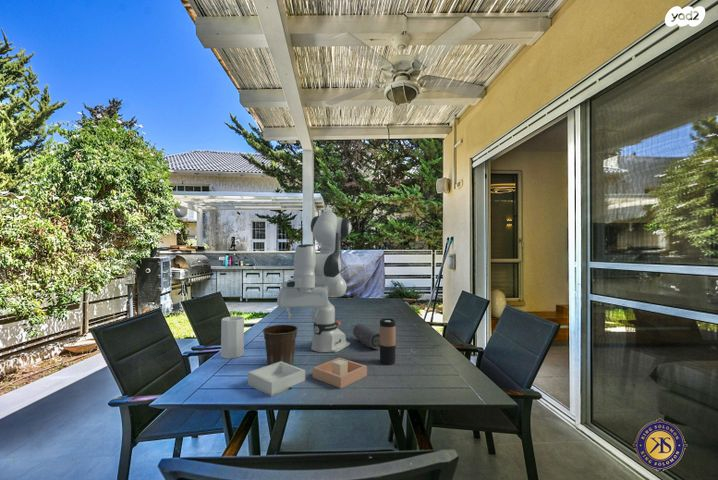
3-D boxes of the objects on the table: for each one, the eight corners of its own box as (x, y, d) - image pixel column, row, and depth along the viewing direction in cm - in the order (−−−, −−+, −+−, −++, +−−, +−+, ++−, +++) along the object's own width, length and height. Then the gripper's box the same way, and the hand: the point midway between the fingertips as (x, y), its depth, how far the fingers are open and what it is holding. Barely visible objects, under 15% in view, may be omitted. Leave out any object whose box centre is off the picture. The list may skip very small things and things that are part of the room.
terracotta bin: (339, 368, 146) (339, 357, 146) (366, 377, 136) (366, 365, 136) (312, 379, 133) (312, 367, 134) (340, 390, 123) (341, 377, 123)
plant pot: (289, 370, 143) (289, 334, 143) (255, 368, 146) (256, 332, 146) (302, 358, 159) (303, 325, 159) (272, 356, 162) (272, 323, 162)
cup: (247, 352, 168) (248, 316, 168) (237, 359, 157) (238, 321, 157) (227, 351, 169) (228, 315, 170) (216, 358, 158) (216, 320, 158)
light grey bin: (281, 372, 141) (281, 361, 141) (305, 382, 130) (305, 370, 131) (247, 384, 128) (248, 372, 128) (271, 396, 118) (271, 383, 118)
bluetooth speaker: (351, 340, 189) (351, 323, 190) (366, 338, 193) (366, 322, 194) (369, 352, 169) (369, 333, 169) (384, 350, 173) (384, 331, 173)
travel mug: (376, 363, 153) (377, 320, 153) (383, 358, 159) (383, 317, 160) (392, 366, 149) (392, 322, 149) (397, 361, 156) (398, 319, 156)
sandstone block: (339, 373, 138) (339, 359, 138) (347, 376, 135) (347, 361, 135) (332, 376, 134) (332, 362, 134) (340, 379, 131) (340, 364, 131)
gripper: (326, 284, 137) (325, 317, 135) (277, 282, 129) (275, 318, 127) (330, 284, 131) (329, 318, 129) (279, 283, 123) (277, 319, 122)
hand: (302, 318), depth 128 cm, fingers open, 8 cm apart
